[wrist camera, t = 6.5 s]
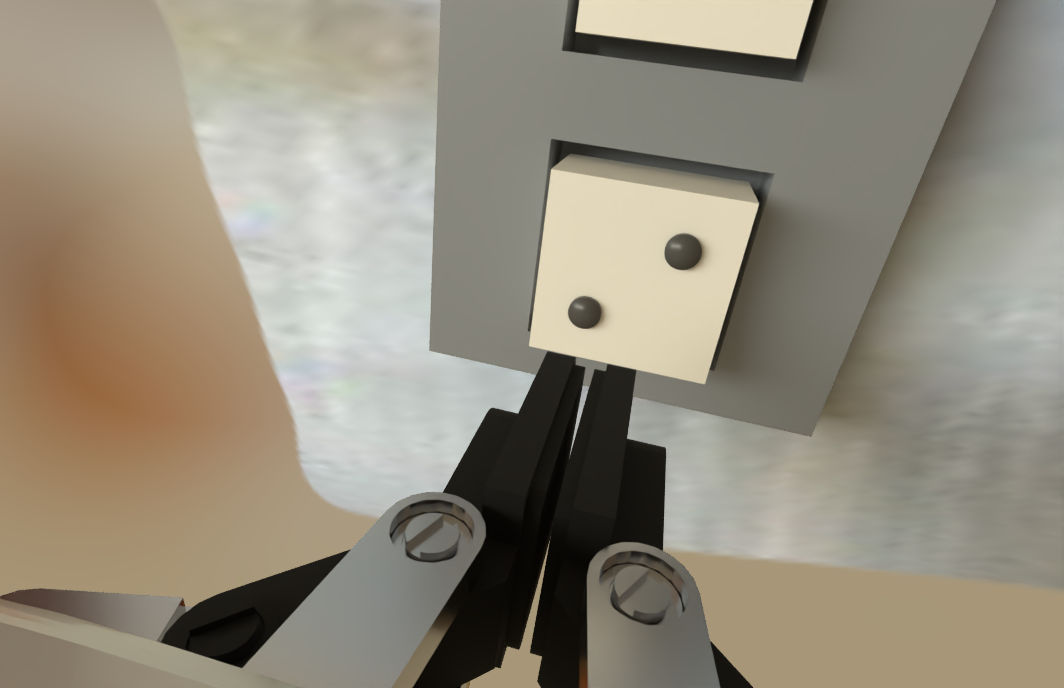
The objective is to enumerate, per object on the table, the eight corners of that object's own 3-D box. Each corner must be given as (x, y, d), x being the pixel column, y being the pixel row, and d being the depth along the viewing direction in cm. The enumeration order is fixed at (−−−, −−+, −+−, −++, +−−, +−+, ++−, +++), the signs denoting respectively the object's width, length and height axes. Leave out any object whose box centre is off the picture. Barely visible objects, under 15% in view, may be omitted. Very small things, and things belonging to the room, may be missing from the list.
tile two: (748, 181, 18) (759, 205, 15) (702, 342, 20) (705, 387, 17) (570, 153, 18) (549, 170, 16) (548, 310, 21) (527, 349, 18)
